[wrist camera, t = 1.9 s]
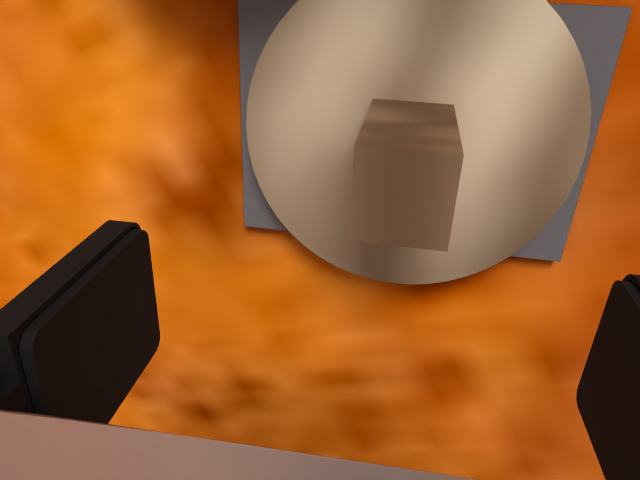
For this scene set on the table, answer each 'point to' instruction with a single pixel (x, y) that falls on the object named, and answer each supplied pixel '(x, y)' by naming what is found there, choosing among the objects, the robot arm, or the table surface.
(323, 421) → the table surface
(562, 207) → the mat
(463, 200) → the lid
